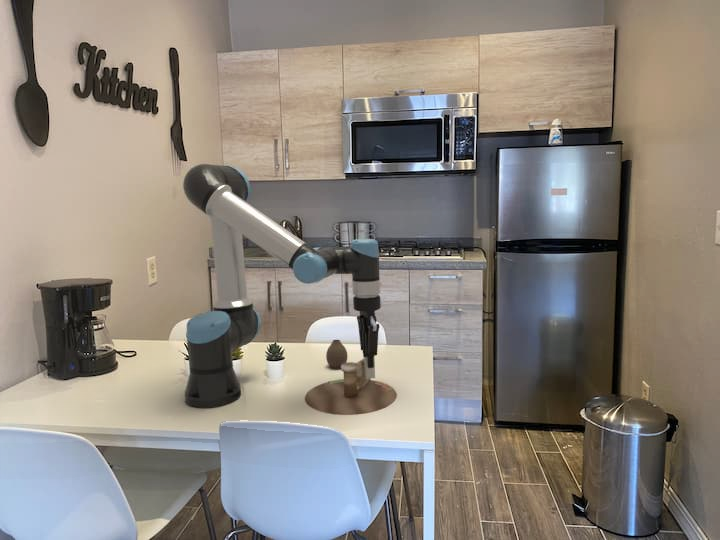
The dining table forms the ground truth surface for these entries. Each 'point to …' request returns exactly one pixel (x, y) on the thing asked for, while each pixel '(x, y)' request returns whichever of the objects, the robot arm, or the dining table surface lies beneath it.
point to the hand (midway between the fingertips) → (369, 377)
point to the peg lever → (353, 377)
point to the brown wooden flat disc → (350, 398)
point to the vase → (336, 354)
